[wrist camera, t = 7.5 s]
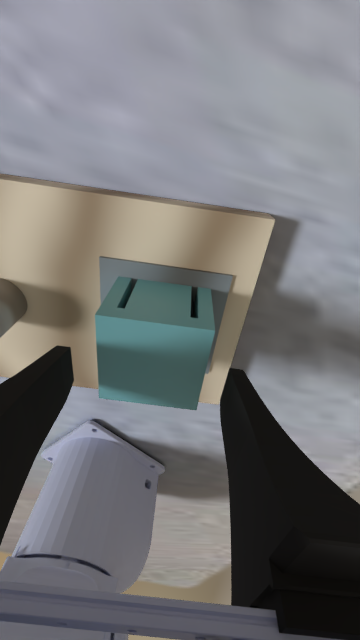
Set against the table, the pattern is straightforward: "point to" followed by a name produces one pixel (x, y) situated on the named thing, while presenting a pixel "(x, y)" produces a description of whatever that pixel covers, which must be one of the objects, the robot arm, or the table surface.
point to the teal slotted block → (153, 343)
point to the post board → (116, 267)
